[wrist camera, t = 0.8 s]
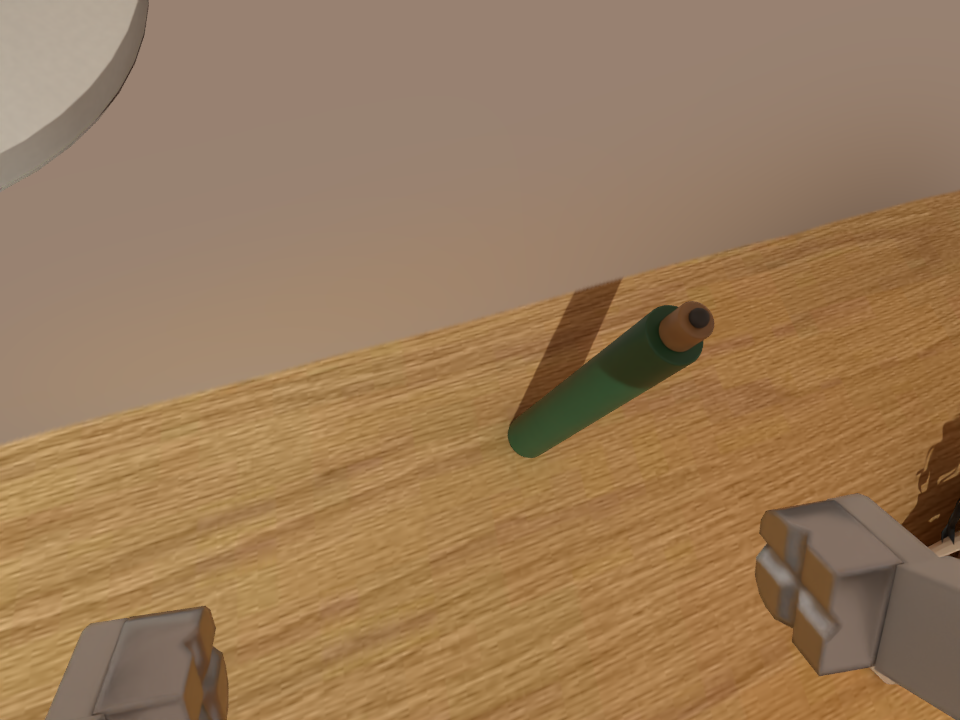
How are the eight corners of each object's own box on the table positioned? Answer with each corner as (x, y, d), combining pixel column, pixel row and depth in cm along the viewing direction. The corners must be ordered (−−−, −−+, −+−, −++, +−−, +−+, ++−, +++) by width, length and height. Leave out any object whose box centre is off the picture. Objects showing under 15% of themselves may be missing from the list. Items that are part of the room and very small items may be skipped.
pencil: (499, 441, 34) (663, 319, 21) (520, 407, 35) (689, 269, 21) (535, 466, 34) (720, 360, 21) (555, 432, 35) (744, 308, 22)
